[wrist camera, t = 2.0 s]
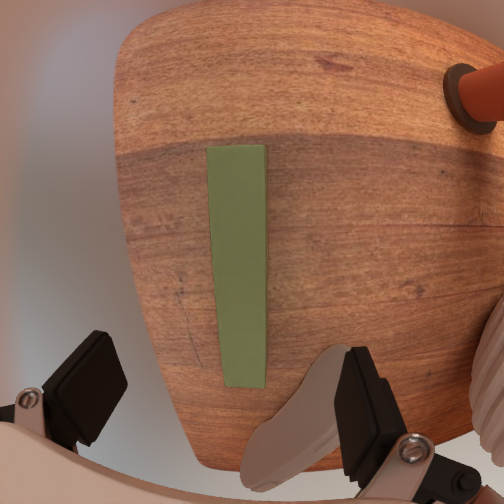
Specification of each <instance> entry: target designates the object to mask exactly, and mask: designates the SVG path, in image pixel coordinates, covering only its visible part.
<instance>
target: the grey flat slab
mask: <svg viewBox="0 0 504 504" xmlns="http://www.w3.org/2000/svg"><path fill="white" fill-rule="evenodd" d="M350 349H351V346H348V345H345V344H335V345H332V346H330V347H328V348H327V349H326V350H324V351H323V352H322V353H321V354H320V355H319V356H318V357H317V359H316V360H315V361H314V363H313V364H312V366H311V367H310V369H309V370H308V372H307V374H306V376H305V378H304V380H303V382H302V384H301V386H300V388H299V389H298V390H297V391H296V392H295V394H294V395H293V396H292V397H291V398H290V399H289V400H288V401H287V403H286V404H285V405H284V406H283V407H282V408H281V409H280V410H279V411H278V412H277V413H276V414H275V415H274V416H273V418H272V419H270V420H268V421H264V422H263V423H261V424H260V425H259V426H258V427H257V428H256V429H255V431H254V432H253V434H252V435H251V437H250V439H249V441H248V443H247V445H246V448H245V451H244V454H243V457H242V461H241V467H240V478H241V481H242V484H243V485H244V486H245V487H246V488H250V489H251V491H255V492H265V491H268V490H270V489H272V488H274V487H276V486H278V485H280V484H282V483H284V482H285V481H287V480H289V479H291V478H292V477H294V476H296V475H297V474H299V473H301V472H302V471H304V470H305V469H307V468H309V467H310V466H312V465H313V464H315V463H316V462H318V461H319V460H320V459H322V458H323V457H325V456H326V455H328V454H329V453H330V452H332V451H333V450H334V449H336V448H337V447H338V446H340V441H339V434H338V428H337V422H336V416H335V410H334V397H335V394H336V390H337V386H338V382H339V378H340V374H341V370H342V365H343V361H344V356H345V353H346V351H350Z"/></svg>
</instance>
